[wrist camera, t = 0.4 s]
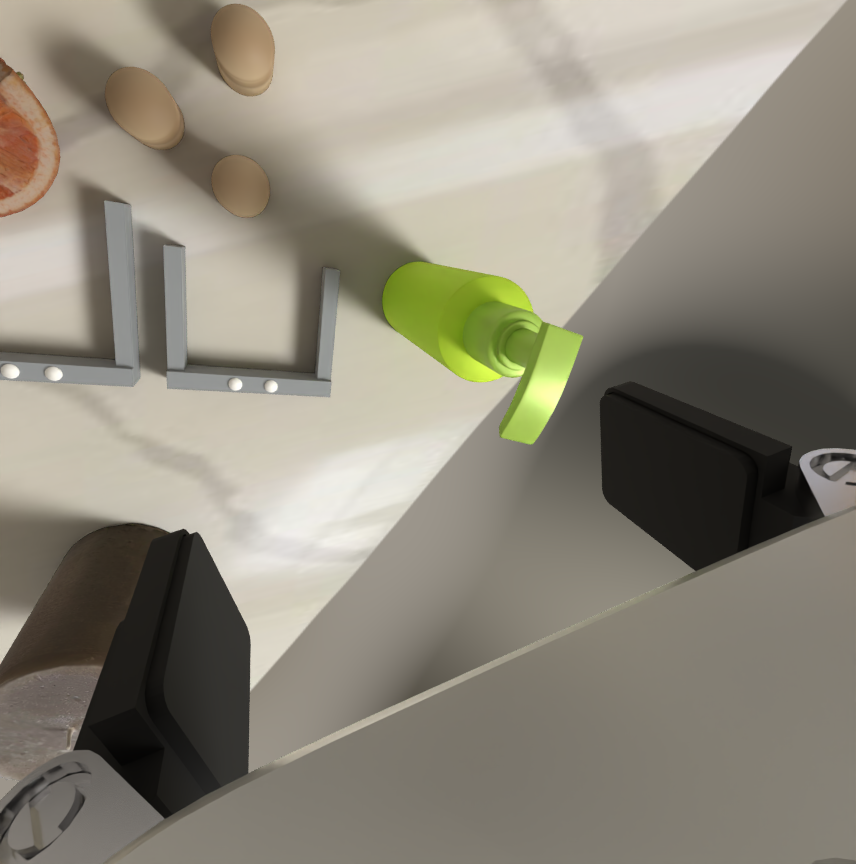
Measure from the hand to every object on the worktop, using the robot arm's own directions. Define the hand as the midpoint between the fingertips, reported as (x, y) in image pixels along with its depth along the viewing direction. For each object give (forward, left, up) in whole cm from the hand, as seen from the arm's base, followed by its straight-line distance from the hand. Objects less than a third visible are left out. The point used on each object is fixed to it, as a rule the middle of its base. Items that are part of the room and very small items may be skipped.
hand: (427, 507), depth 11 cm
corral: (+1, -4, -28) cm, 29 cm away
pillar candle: (+23, -13, -29) cm, 39 cm away
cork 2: (-14, -5, -28) cm, 32 cm away
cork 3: (-7, -5, -28) cm, 30 cm away
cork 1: (-10, -10, -28) cm, 32 cm away
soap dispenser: (-1, +8, -29) cm, 30 cm away
